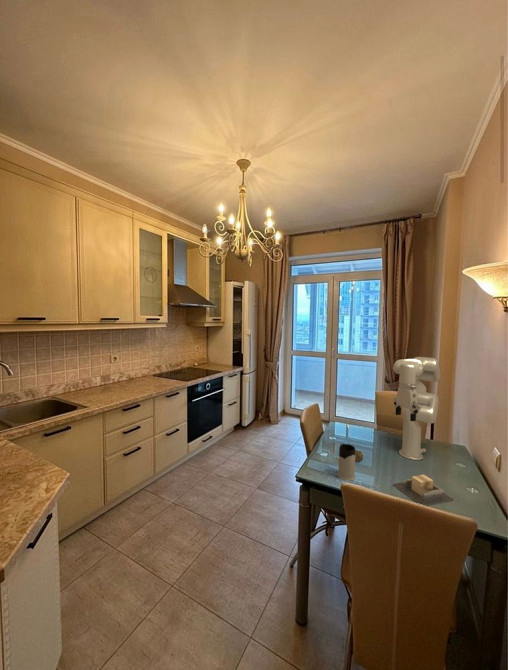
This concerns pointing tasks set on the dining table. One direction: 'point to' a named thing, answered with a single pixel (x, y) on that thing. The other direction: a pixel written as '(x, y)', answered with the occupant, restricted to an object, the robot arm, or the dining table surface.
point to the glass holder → (346, 461)
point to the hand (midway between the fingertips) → (405, 417)
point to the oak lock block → (421, 484)
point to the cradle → (423, 494)
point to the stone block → (358, 456)
